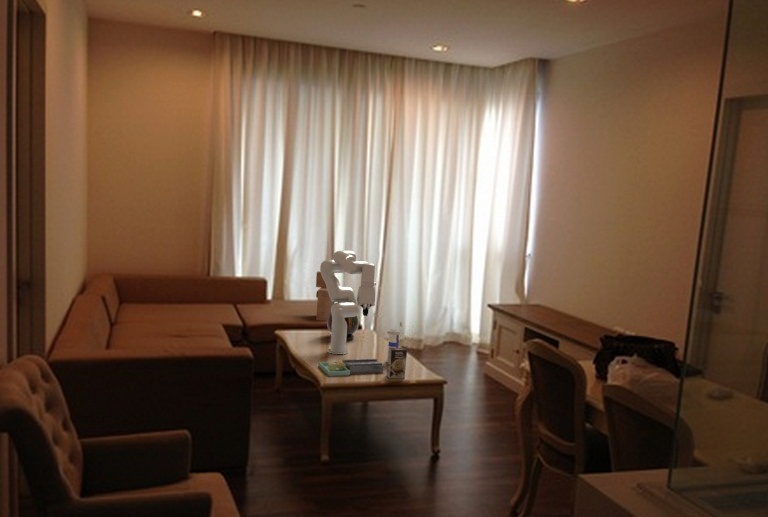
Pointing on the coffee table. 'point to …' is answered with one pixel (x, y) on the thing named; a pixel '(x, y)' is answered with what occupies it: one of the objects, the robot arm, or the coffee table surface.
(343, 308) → the robot arm
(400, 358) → the coffee box
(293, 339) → the coffee table surface
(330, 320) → the amphora vase
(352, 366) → the grey flat channelled block
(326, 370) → the tray
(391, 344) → the water bottle
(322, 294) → the tan blocky figurine
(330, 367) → the tan wooden cube
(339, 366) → the tan wooden block
